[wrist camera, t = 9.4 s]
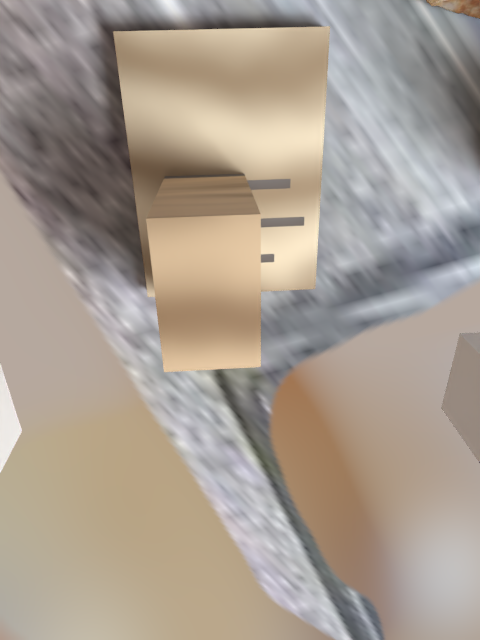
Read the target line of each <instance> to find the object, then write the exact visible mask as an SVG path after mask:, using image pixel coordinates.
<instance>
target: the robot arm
mask: <svg viewBox="0 0 480 640" xmlns="http://www.w3.org/2000/svg"><path fill="white" fill-rule="evenodd" d="M442 410H443V411H444V413H445V414H446V416H447V417H448V418H449V420H450V421H451V423H452V424H453V426H454V427H455V428H456V430H457V431H458V433H459V434H460V436H461V437H462V439H463V440H464V441H465V443H466V444H467V446H468V447H469V449H470V450H471V451H472V453H473V454H474V456H475V457H476V459H477V460H478V461H479V463H480V333H462V334H461V333H460V335H459V339H458V343H457V347H456V351H455V355H454V359H453V363H452V367H451V371H450V375H449V379H448V383H447V387H446V391H445V395H444V399H443V403H442ZM21 432H22V429H21V426H20V424H19V420H18V417H17V414H16V411H15V408H14V405H13V401H12V398H11V395H10V392H9V389H8V386H7V383H6V380H5V377H4V374H3V370H2V367H1V364H0V472H1V470H2V468H3V467H4V465H5V463H6V461H7V459H8V457H9V455H10V453H11V451H12V449H13V447H14V445H15V443H16V441H17V439H18V437H19V436H20V434H21Z"/></svg>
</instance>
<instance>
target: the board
mask: <svg viewBox="0 0 480 640" xmlns="http://www.w3.org/2000/svg"><path fill="white" fill-rule="evenodd" d="M113 34H114V42H115V50H116V57H117V65H118V72H119V80H120V88H121V95H122V103H123V111H124V118H125V126H126V134H127V141H128V149H129V157H130V164H131V172H132V180H133V187H134V195H135V202H136V210H137V218H138V225H139V233H140V241H141V248H142V256H143V264H144V271H145V279H146V287H147V294H148V297H155V290H154V282H153V273H152V265H151V256H150V248H149V239H148V231H147V222H146V218H147V215H148V213H149V211H150V209H151V206H152V204H153V202H154V200H155V197H156V195H157V193H158V191H159V188H160V186H161V184H162V182H163V179H164V177H165V176H189V175H219V174H245V177H246V179H247V182H248V184H249V187H250V189H251V191H252V194H253V196H254V199H255V201H256V204H257V206H258V209H259V211H260V214H261V292H262V291H282V290H302V289H315V282H316V265H317V247H318V229H319V212H320V194H321V176H322V158H323V141H324V123H325V105H326V87H327V70H328V52H329V34H330V26H329V27H285V28H241V29H197V30H154V31H113Z"/></svg>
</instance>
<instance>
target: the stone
mask: <svg viewBox="0 0 480 640" xmlns="http://www.w3.org/2000/svg"><path fill="white" fill-rule="evenodd" d="M426 1H427V2H428V3H429V4H430V5H431V6H439V7H442V8H444V9H446V10H449V11H452V12H455V13H464V14H466V15H468V16H472V17H475V18H479V19H480V0H426Z"/></svg>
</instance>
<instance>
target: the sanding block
mask: <svg viewBox="0 0 480 640" xmlns="http://www.w3.org/2000/svg"><path fill="white" fill-rule="evenodd" d="M146 222H147V231H148V239H149V248H150V256H151V265H152V273H153V282H154V290H155V299H156V307H157V316H158V324H159V332H160V341H161V349H162V358H163V366H164V372H173V371H192V370H211V369H230V368H248V367H261V214H260V211H259V209H258V206H257V204H256V201H255V199H254V196H253V194H252V191H251V189H250V187H249V184H248V182H247V179H246V177H245V174H219V175H189V176H165V177H164V179H163V182H162V184H161V186H160V188H159V191H158V193H157V195H156V197H155V200H154V202H153V204H152V206H151V209H150V211H149V213H148V215H147V218H146Z"/></svg>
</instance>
